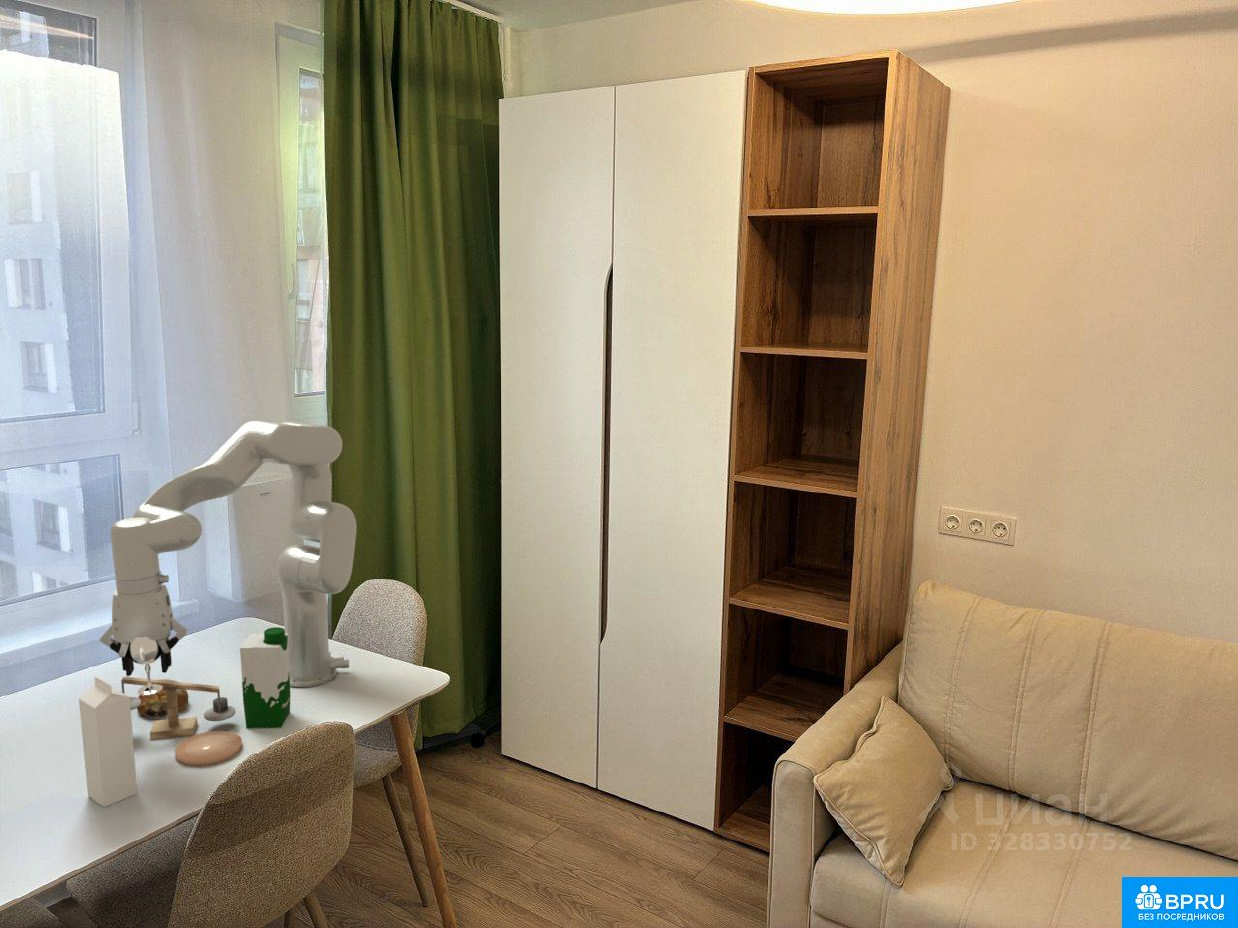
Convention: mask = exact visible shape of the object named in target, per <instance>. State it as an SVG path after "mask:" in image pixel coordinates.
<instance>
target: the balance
mask: <svg viewBox="0 0 1238 928" xmlns="http://www.w3.org/2000/svg"><path fill="white" fill-rule="evenodd" d="M150 681H151V684H158V685H161V686H162V687H164V691H166V695H167V709H168V716H167V719H161V720H154V722H153V724H152V727H151V729H150V731H149V740H156V739H167V738H176V737H177V738H178V737H185V736H186V737H188V736H189V737H190V736H194V735H195V733H196V728H197V726H198V717H197V716H194V717H182V718H179V712H178V704H177V689H184V690H187V691H193V692H196V691H197V692H206V693H215V694H217V697H216V698H214V699H213V700H212V707H211V708H208V709H207V710H205V712H204V713H203V718H204V719H205V720H206V721H209V722H221V721H225V720H226V721H227V720H228V719H231V718H233V717H234V716H235V714H236V708H235V707H233V706H232V705H229V703H228V698H227V697H223V696H221V695H220V694H221V693H220V686H218V685H213V684H212V685H210V684H199V683H193V682H192V683H190V682H179V681H176V680H175V681H176V682H172V681H162V680H159V679H151V678H150ZM120 683H121V692H122V693H124V694H125V684H126V685H133V686H134V685H136V686H142V687H144V686H147V684H148V678H141V677H130V676H122V678H121V681H120ZM129 697H130V709H131V711H134V710H136V709H137V708H138V707H139V706H140V705H141V700H140V699H139V698H138V697H137V696H129Z"/></svg>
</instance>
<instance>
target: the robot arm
mask: <svg viewBox="0 0 1238 928" xmlns="http://www.w3.org/2000/svg"><path fill="white" fill-rule="evenodd" d="M342 449H343V439H342V436H341V434H340V433H339V432H338V431H337V430H336V429H335V428H333V427H331V426H327V425H322V424H315V423H308V422H301V421H292V420H290V421H289V420H288V421H282V422H275V421H267V420H260V419H259V420H256V419H255V420H250V421H247V422H245V423H244V424H242V425H241V426H240V427H239V428H238V429H237V430H236V431H235V432H234V433H233V434H232V435H231V436H230V437H228V439H227V440H226V441H225V442H224V443H223V444H221V445H220V447H219V448H217V450H216V451H215V452H214V453H212V454H211V456H210V457H209V458H208V459H206V461H205V462H204V463H202V464H201V465H199V466H197V467H194V468H192V469H190V470H188V471H186V472H184V473H182V474H180V475H179V476H176V477H174V478H172V479H170V480H168V481H167V482H166V483H164V484H162V485H161V486H160V487H158V488H157V489H156V490H155V491H153V493H151V494H150V495H149V496H148V497H147V498H146V499H145V500H144V501H143V502H142V503H141V505H140V506H139V507H138V508H137V509H136V510H135V512H134V513H133V516H132V517H129V518H125V519H121V520H118V521H115V522H113V524H112V525H111V527H110V540H111V548H112V549H111V551H112V559H113V568H114V576H115V585H116V589H114V591H113V596H112V604H111V607H112V608H111V625H110V627H108V629H106V631H105V632H104V633H103V634H102V635H101V637H100V639H99V641H100V643H102V644H104V645H105V646H107V647H109V649H111V650H112V651H114V652H115V653H117V654H118V656H119V657H120V658H121V666H122V671H123V672H124V671H125V674H126V676H125V677H130V676H131V675H132V674H133V672H134V670H135V665H134V663H135V662H134V661H132V659H131V658H130V655H129V643H131V642H133V641H134V639H135V638H136V637H145V636H146V637H148V638H149V639H150V640H157V641H158V643H159V645H160V647H161V649H162V652H161V654H160V657H159V658H160V664H161V665H160V666H161V672H162V673H163V674H164V673H165V674H166V673H167V672H168V669H169V668H170V667H172V663H173V661H172V651H171V650H172V649H173V648H174V647H175V646H177V644H178V643H179V641H181V640H182V639H183V638H184V637H185V636H186V635H187V633H188V629H187V627H185V626H184V625H182V624H181V623H180V622H179V621H177V620H176V619H175V618H174V614H173V613H174V611H173V607H172V603H171V599H170V593H169V591H168V589H167V586H166V584H165V583H169V582H170V578H169V577H170V576H169V575H168V574H167V575H164V574H163V573H162V571H161V570H160V561H159V560H160V559H159V554H163V553H170V552H179V551H184V550H186V549H189V548H191V547H193V546H194V545H196V543H198V541H199V540H200V538H201V536H202V531H203V526H202V523H201V522H200V521H199V519H198V517H196V516H194V515H193V514H191V513H188V512H185V511H186V510H187V509H189V508H191V507H192V506H195V505H198V504H200V503H202V502H207V501H210V500H211V501H212V500H216V499H220V498H223V497H224V498H225V497H227V496H231V495H233V494H236V492H238V491H239V490H240V489H241V488H242V487H243V486H244V485H245V483H247V481H249V479H250V478H251V477H253V475H255V473H256V472H257V471H258V470H259V469H260V468H261V467H262V466H263V465H264V464H265V463H271V464H272V463H273V464H277V465H285V466H289V469H290V472H291V476H292V484H291V486H292V487H291V495H290V496H291V497H290V504H289V505H290V506H289V514H288V528H289V531H290V533H291V534H292V535H293V536H295V537H297V538H299V539H302V540H305V541H310V542H312V543H313V542H314V543H318V544H320V545H319V547H316V546H313V545H310V544H308V545H307V544H293V545H290V546H288V547H286V548H285V549H283V551H282V552H281V553H280V555H279V557H278V559H277V562H276V563H277V564H276V571H277V577H278V582H279V585H280V588H281V595H282V603H283V604H282V605H283V621H284V622H283V623H284V625H283V628H284V630H285V634H289V673H290V687H293V688H295V687H296V688H307V687H315V686H319V685H322V684H325V683H328V682H329V681H331V680H333V679H334V678H335V677H336V676H337V669H348V668H350V659H345V656H339V657H334V656H332V653H331V651H330V650H329V648H330V647H329V622H328V621H329V620H328V617H329V616H328V602H327V601H328V600H327V597H326V595H336V594H339V593H340V592H342V591H344V590H345V589H346V587H347V585H348V583H349V582H350V581H351V580H350V579H351V576H352V572H353V565H354V558H355V548H356V539H357V519H356V517H355V514H354V512H353V511H352V510H351V508H350V507H349V506H347V505H344V504H343V503H339V502H334V501H332V479H333V478H332V477H333V476H332V473H331V469H330V465H329V464H332V463H333V462H334V461H336V460H337V459H338V457H339V456H340V455H341V453H342ZM172 631H174V632H176V633H175V635H173V636H172V637H171V635H172V634H171V632H172ZM170 637H171V638H170Z"/></svg>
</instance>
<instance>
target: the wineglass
mask: <svg viewBox="0 0 1238 928" xmlns="http://www.w3.org/2000/svg"><path fill="white" fill-rule="evenodd" d="M161 652H162V649H161V647H160V645H159V643H158V641H157V640H150V639H149V638H148V637H146V636H145V637H136V638H135V639H134V641H133V642H131V643H129V655H130V658H131V659H132V661H133V663H136V664H137V665H145V666H144V672H145V674H146V676H147V678H146V679H148V684H147V686H142V687H140V688H139V689H137V692H136V693H137V694H138V695H151V694H155V693H158V692H159V691H161V690H162V689H163V687H162V686H161V685H158V684H151V681H150V679H151V670H152V668H151V667H152V666H151V664H152V663H154V662H156V661H157V660H158V659H160V658H161V657H160V654H161Z"/></svg>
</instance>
